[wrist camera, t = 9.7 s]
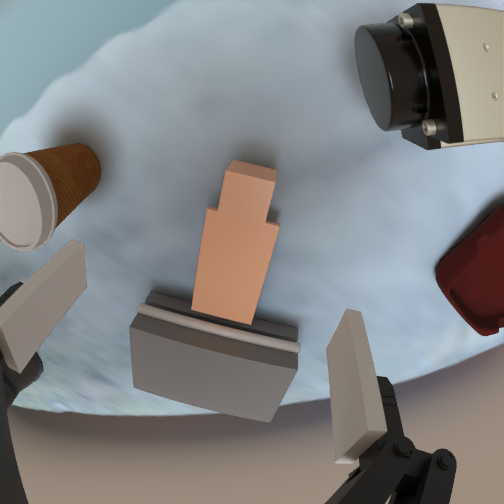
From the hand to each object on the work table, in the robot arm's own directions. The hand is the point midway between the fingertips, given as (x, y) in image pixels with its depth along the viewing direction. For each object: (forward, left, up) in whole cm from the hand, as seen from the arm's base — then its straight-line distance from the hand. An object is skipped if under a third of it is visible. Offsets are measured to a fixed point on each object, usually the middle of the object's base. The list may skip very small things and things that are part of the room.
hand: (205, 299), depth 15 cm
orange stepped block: (0, -6, -16) cm, 18 cm away
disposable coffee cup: (-20, -2, -19) cm, 28 cm away
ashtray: (+30, -1, -19) cm, 36 cm away
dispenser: (0, -22, -19) cm, 29 cm away
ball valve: (+14, +16, -19) cm, 28 cm away
